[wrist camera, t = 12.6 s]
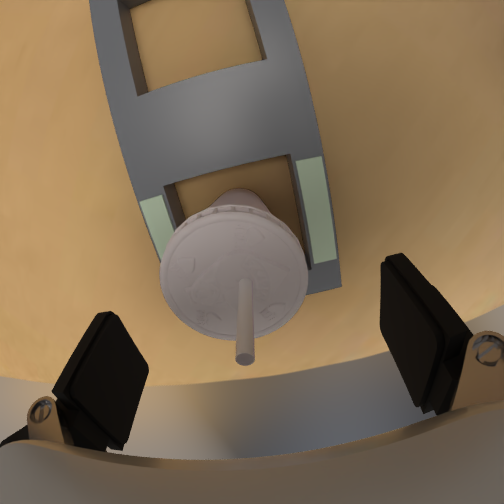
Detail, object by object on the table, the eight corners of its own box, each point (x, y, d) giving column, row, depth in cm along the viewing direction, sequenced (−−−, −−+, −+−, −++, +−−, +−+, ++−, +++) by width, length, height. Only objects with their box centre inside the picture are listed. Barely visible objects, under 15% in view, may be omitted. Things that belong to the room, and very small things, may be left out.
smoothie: (293, 240, 22) (344, 397, 9) (212, 263, 22) (179, 425, 10) (269, 157, 19) (314, 234, 6) (181, 185, 20) (83, 299, 7)
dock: (258, -46, 12) (259, -64, 10) (333, 270, 23) (342, 288, 20) (102, 1, 13) (86, -9, 11) (189, 301, 24) (184, 321, 21)
